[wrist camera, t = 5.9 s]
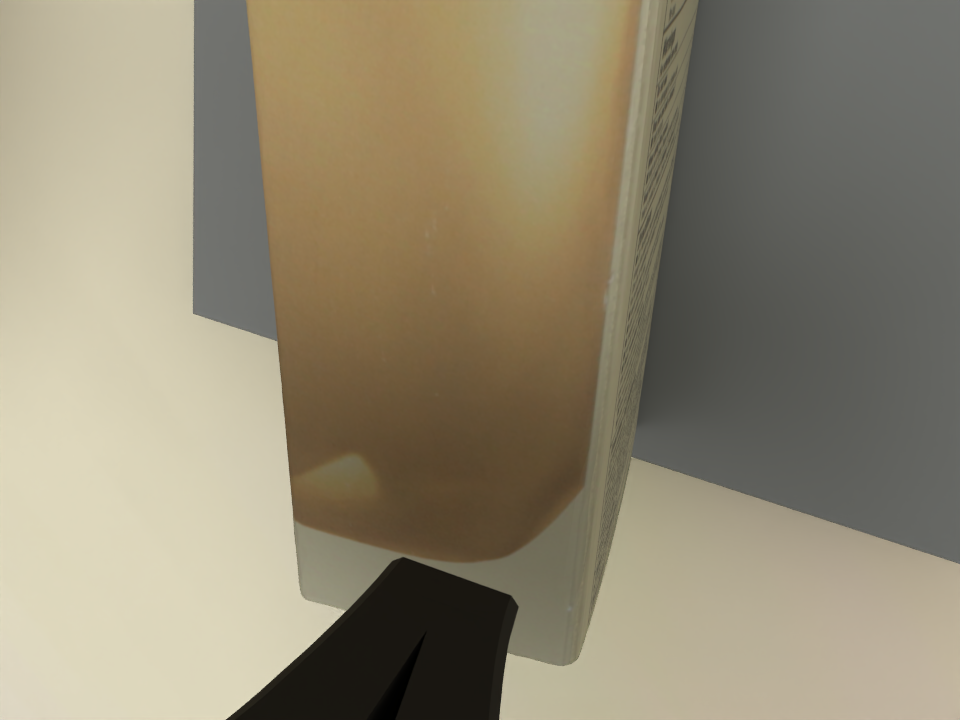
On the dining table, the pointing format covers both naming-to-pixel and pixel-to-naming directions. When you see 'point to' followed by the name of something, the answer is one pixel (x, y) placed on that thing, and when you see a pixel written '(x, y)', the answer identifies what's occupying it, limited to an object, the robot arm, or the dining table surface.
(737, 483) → the mat
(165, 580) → the dining table surface
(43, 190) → the dining table surface
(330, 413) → the skincare box
